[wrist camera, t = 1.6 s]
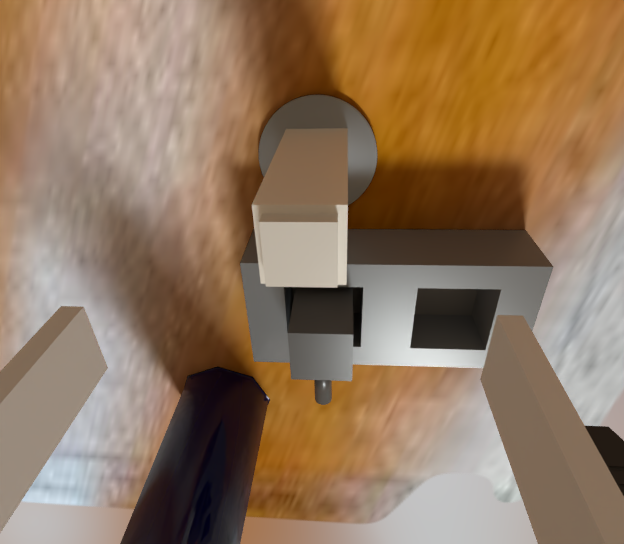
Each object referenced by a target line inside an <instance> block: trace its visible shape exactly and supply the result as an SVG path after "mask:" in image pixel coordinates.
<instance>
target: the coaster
mask: <svg viewBox="0 0 624 544" xmlns="http://www.w3.org/2000/svg"><path fill="white" fill-rule="evenodd" d="M317 128H348V205H349V204H351V203H353V202H354V201H355V200H356V199H358V198H359V197H360V196H361V195H362V194H363V193H364V191H365V190H366V189H367V187H368V186H369V184H370V182H371V180H372V178H373V176H374V173H375V169H376V164H377V146H376V141H375V137H374V134H373V131H372V129H371V127H370V125H369V123H368V122H367V120H366V119H365V118H364V116H363V115H362V114H361V113H360V112H359V111H358V110H357V109H356V108H355V107H353V106H352V105H350V104H349V103H347V102H345V101H343V100H341V99H339V98H336V97H333V96H328V95H317V94H316V95H307V96H303V97H299V98H296V99H294V100H292V101H290V102H288V103H286V104H285V105H283V106H282V107H281V108H279V109H278V110H277V111H276V112H275V113H274V114H273V116H272V117H271V118H270V120H269V121H268V123H267V125H266V126H265V128H264V130H263V133H262V136H261V139H260V144H259V163H260V168H261V171H262V174H263V177H265V174H266V172H267V170H268V168H269V166H270V163H271V161H272V159H273V157H274V155H275V152H276V150H277V148H278V146H279V144H280V141H281V139H282V137H283V135H284V133H285V130H286V129H317Z"/></svg>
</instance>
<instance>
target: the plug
mask: <svg viewBox="0 0 624 544" xmlns="http://www.w3.org/2000/svg"><path fill="white" fill-rule="evenodd" d="M252 212H253V220H254V229H255V238H256V247H257V255H258V264H259V273H260V281H261V284H266V287H323V288H337V287H338V285H346V283H347V227H348V128H317V129H286V130H285V133H284V135H283V137H282V139H281V141H280V144H279V146H278V148H277V150H276V152H275V155H274V157H273V159H272V161H271V163H270V166H269V168H268V170H267V172H266V174H265V177H264V179H263V181H262V183H261V185H260V188H259V190H258V192H257V194H256V196H255V199H254V201H253V203H252Z"/></svg>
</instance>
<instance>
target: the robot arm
mask: <svg viewBox="0 0 624 544" xmlns="http://www.w3.org/2000/svg"><path fill="white" fill-rule="evenodd" d="M107 368H108V367H107V365H106V362H105V360H104V357H103V355H102V352H101V350H100V347H99V345H98V342H97V339H96V337H95V334H94V332H93V329H92V327H91V324H90V322H89V319H88V317H87V314H86V312H85V309H84V307H68V306H61V307H60V308H59V309H58V310H57V311H56V312H55V314H54V315H53V316H52V317H51V318H50V319H49V320H48V321H47V322H46V323H45V324H44V325H43V326H42V327H41V329H40V330H39V331H38V332H37V333H36V334H35V335H34V336H33V337H32V338H31V339H30V340H29V341H28V342H27V344H26V345H25V346H24V347H23V348H22V349H21V350H20V351H19V352H18V353H17V354H16V355H15V356H14V358H13V359H12V360H11V361H10V362H9V363H8V364H7V365H6V366H5V367H4V368H3V369H2V370H1V371H0V533H1V531H2V530H3V528H4V527H5V525H6V523H7V522H8V520H9V519H10V517H11V516H12V514H13V513H14V511H15V510H16V508H17V507H18V505H19V503H20V502H21V500H22V499H23V497H24V496H25V494H26V493H27V491H28V490H29V488H30V487H31V485H32V483H33V482H34V480H35V479H36V477H37V476H38V474H39V473H40V471H41V470H42V468H43V467H44V465H45V463H46V462H47V460H48V459H49V457H50V456H51V454H52V453H53V451H54V450H55V448H56V447H57V445H58V443H59V442H60V440H61V439H62V437H63V436H64V434H65V433H66V431H67V430H68V428H69V427H70V425H71V423H72V422H73V420H74V419H75V417H76V416H77V414H78V413H79V411H80V410H81V408H82V407H83V405H84V403H85V402H86V400H87V399H88V397H89V396H90V394H91V393H92V391H93V390H94V388H95V387H96V385H97V383H98V382H99V380H100V379H101V377H102V376H103V374H104V373H105V371H106V370H107ZM481 382H482V385H483V388H484V391H485V394H486V397H487V399H488V402H489V405H490V408H491V411H492V414H493V416H494V419H495V422H496V425H497V428H498V431H499V434H500V436H501V439H502V442H503V445H504V448H505V451H506V454H507V456H508V459H509V462H510V465H511V468H512V471H513V474H514V476H515V479H516V482H517V485H518V488H519V491H520V494H521V496H522V499H523V502H524V505H525V508H526V511H527V514H528V516H529V519H530V522H531V525H532V528H533V531H534V534H535V536H536V539H537V542H538V544H624V441H623V440H622V439H621V438H620V437H619V436H618V435H617V434H616V433H615V432H614V431H612V430H611V429H610V428H609V427H602V426H584V424H583V422H582V421H581V419H580V417H579V415H578V413H577V412H576V410H575V408H574V406H573V404H572V403H571V401H570V399H569V397H568V395H567V394H566V392H565V390H564V388H563V386H562V385H561V383H560V381H559V379H558V377H557V376H556V374H555V372H554V370H553V368H552V367H551V365H550V363H549V361H548V359H547V358H546V356H545V354H544V352H543V350H542V349H541V347H540V345H539V343H538V341H537V340H536V338H535V336H534V334H533V332H532V331H531V329H530V327H529V325H528V323H527V322H526V320H525V318H524V316H517V315H497V318H496V321H495V325H494V329H493V333H492V337H491V341H490V345H489V348H488V352H487V356H486V360H485V364H484V368H483V371H482V375H481Z"/></svg>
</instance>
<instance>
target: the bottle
mask: <svg viewBox="0 0 624 544" xmlns="http://www.w3.org/2000/svg"><path fill="white" fill-rule="evenodd" d="M269 401H270V399H269V398H268V397H267V395H266V394H265V393H264V391H263V390H262V389H261V387H260V386H259V385H258V383H257V382H256V381H255V379H254V378H253V377H251V376H247V375H244V374H241V373H237V372H234V371H230V370H227V369H224V368H220V367H215V368H212V369H209V370H205V371H202V372H199V373H196V374H193V375H189V376H188V377H187V380H186V384H185V387H184V390H183V392H182V395H181V397H180V400H179V402H178V405H177V407H176V409H175V412H174V414H173V417H172V419H171V422H170V424H169V426H168V429H167V431H166V434H165V436H164V439H163V441H162V443H161V446H160V448H159V451H158V453H157V456H156V458H155V461H154V463H153V465H152V468H151V470H150V473H149V475H148V478H147V480H146V482H145V485H144V487H143V490H142V492H141V495H140V497H139V499H138V502H137V504H136V507H135V509H134V512H133V514H132V517H131V519H130V522H129V524H128V527H127V529H126V531H125V534H124V536H123V539H122V541H121V543H120V544H240V541H241V536H242V531H243V526H244V521H245V516H246V511H247V506H248V501H249V496H250V491H251V486H252V481H253V476H254V471H255V466H256V461H257V456H258V451H259V446H260V440H261V435H262V430H263V425H264V420H265V415H266V410H267V405H268V403H269Z"/></svg>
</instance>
